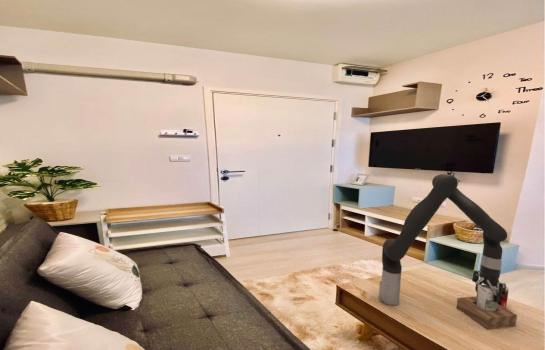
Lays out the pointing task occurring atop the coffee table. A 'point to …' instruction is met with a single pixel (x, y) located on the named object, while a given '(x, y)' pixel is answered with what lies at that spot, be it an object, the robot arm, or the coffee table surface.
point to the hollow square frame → (486, 314)
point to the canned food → (503, 299)
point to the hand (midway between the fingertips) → (486, 296)
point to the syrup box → (485, 298)
